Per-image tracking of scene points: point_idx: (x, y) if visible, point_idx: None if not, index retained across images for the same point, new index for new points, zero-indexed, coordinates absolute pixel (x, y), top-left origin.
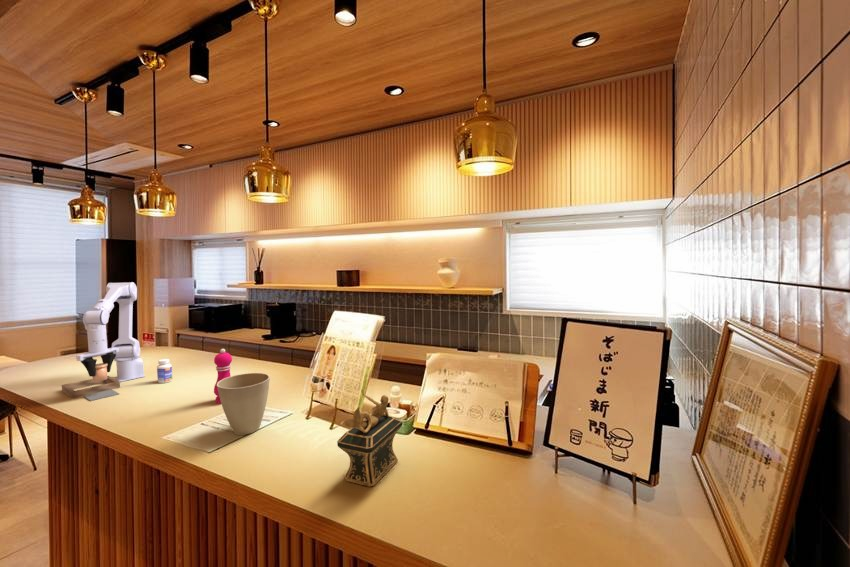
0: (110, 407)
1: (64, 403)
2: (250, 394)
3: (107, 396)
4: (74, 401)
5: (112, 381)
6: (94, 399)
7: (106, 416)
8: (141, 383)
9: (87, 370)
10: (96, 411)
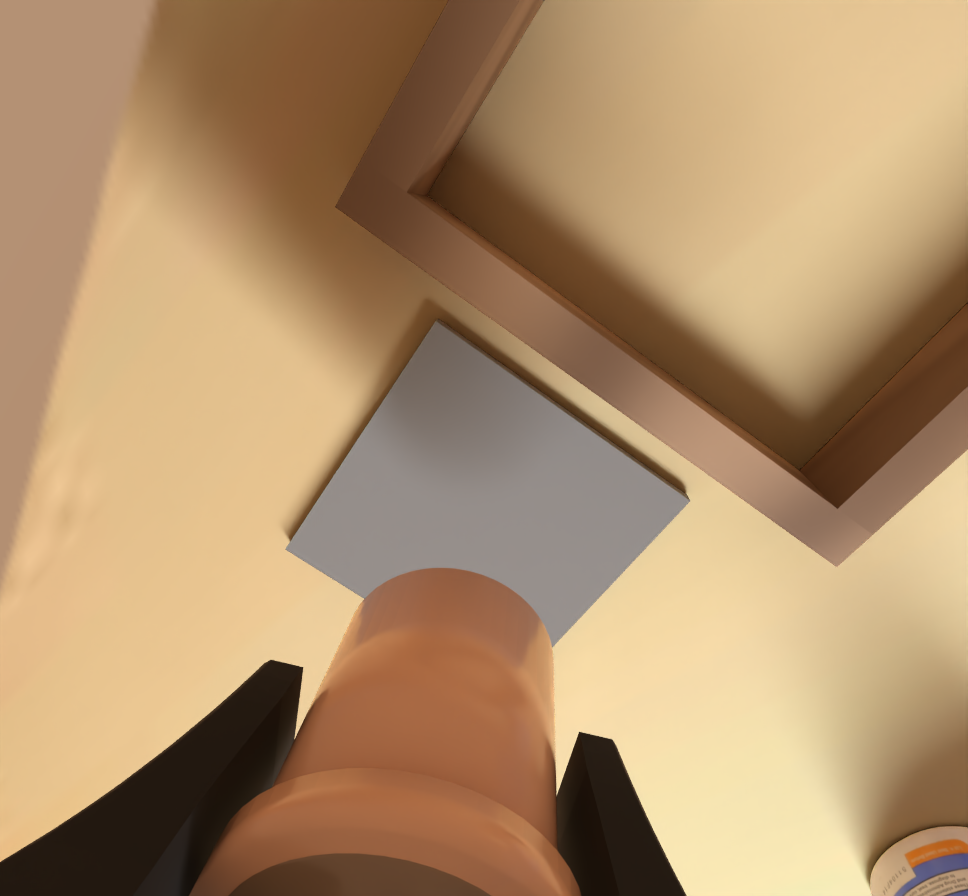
0: None
1: (191, 286)
2: None
3: None
4: (267, 356)
5: (948, 389)
6: (319, 569)
7: None
8: (939, 673)
9: (168, 757)
10: (83, 776)
